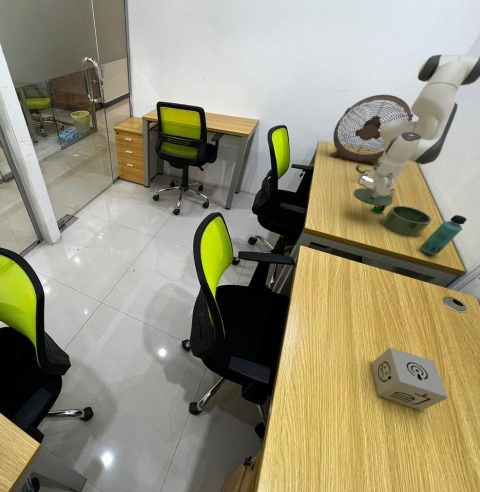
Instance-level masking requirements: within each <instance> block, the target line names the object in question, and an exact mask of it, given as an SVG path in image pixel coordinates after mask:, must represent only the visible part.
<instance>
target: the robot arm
mask: <svg viewBox="0 0 480 492" xmlns="http://www.w3.org/2000/svg"><path fill="white" fill-rule="evenodd" d="M417 79H418V80H419V81H421V82H424V83H426V84H425V85H424V87H423V88H422V90H421V91H420V92H419V94H418V95H417V97H416V99H415V100H414V102H413V104H412V106H411V107H410V110H411V114H413V116H416V117H417V118H418V119H417V120H416V121H414V120H411V121H408V120H406V121H404V120H403V119H402V120H401V119H400V120H399V119H397V120H396V119H395V120H392V121H388V122H387V123H386V122H385V123H384V124H385V125H384V124H383V125H382V126H383V127H382V126H381V127H380V128H381V130H379V132H380V136H381V138H382V139H381V138H380V139H381V140H382V141H383V142H384V143H383V144H385V148H384V149H383V150H384V152H383V155H382V157H380V158H379V159H380V160H379V162H378V163H377V164H376V165H375V166H373V167H371V168H369V169H368V170H367V169H364V170H363V171H362V170H360V169H359V167H360V164H358V165H357V166H356V167H355V168H356V171H357V172H359V173H360V174H361V176H360V178H359V181H358V184H359V185H361V186H364V187H365V188H367V189H373V190H372V192H371V193H373V191H374V190H375V189H376V191H375V193H373V195H372V197H374V198H376V197H377V196H378V195H379V196H387V195H388V193H389V192H391V191H392V190H394V189H395V187H394V185H395V183H396V181H397V179H398V177H400V175H401V174H402V172H403V171H404V169H405V167H406V166H407V163H408V162H414V163H415V164H420V165H421V166H422V165H427V164H431V163H433V162H435V161H436V160H437V159H438V158H439V157H440V155H441V153H442V150H443V147H444V144H445V140H446V138H447V137H448V136H447V135H448V134H449V131H450V129H451V126H452V123H453V122H454V119H455V116H456V114H457V111H458V104H457V103H456V102H455V96H456V93H457V92H458V89H459V88H460V87H461V86H468V85H471V84H473V83H475V82H477V81H478V80H479V79H480V56H476V55H475V56H474V55H468V54H443V55H442V54H435V55H432V56H430V57H428V59H427V60H425V61H424V62H423V64H422V65H420V68H419V69H418V73H417Z"/></svg>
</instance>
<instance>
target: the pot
mask: <svg viewBox="0 0 480 492" xmlns="http://www.w3.org/2000/svg"><path fill="white" fill-rule="evenodd" d="M431 222H432V218H431V216H430V215H428V214H427V213H426V212H424V211H422V210H421V209H418V208H414V207H411V206H405V205H396V206H395V205H394V206H392V207H391V208H390V210H389V211H388V213H387V214H386V215H385V217H384V219H382V226H384V227H385V228H386V229H387V230H388V231H390V232H392V233H395V234H397V235H400V236H403V237H413V238H414V237H418V236H421V234H422V233H423V231H424V230H425V229H426V228H427V227H428V226H429V225H430V224H431Z"/></svg>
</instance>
